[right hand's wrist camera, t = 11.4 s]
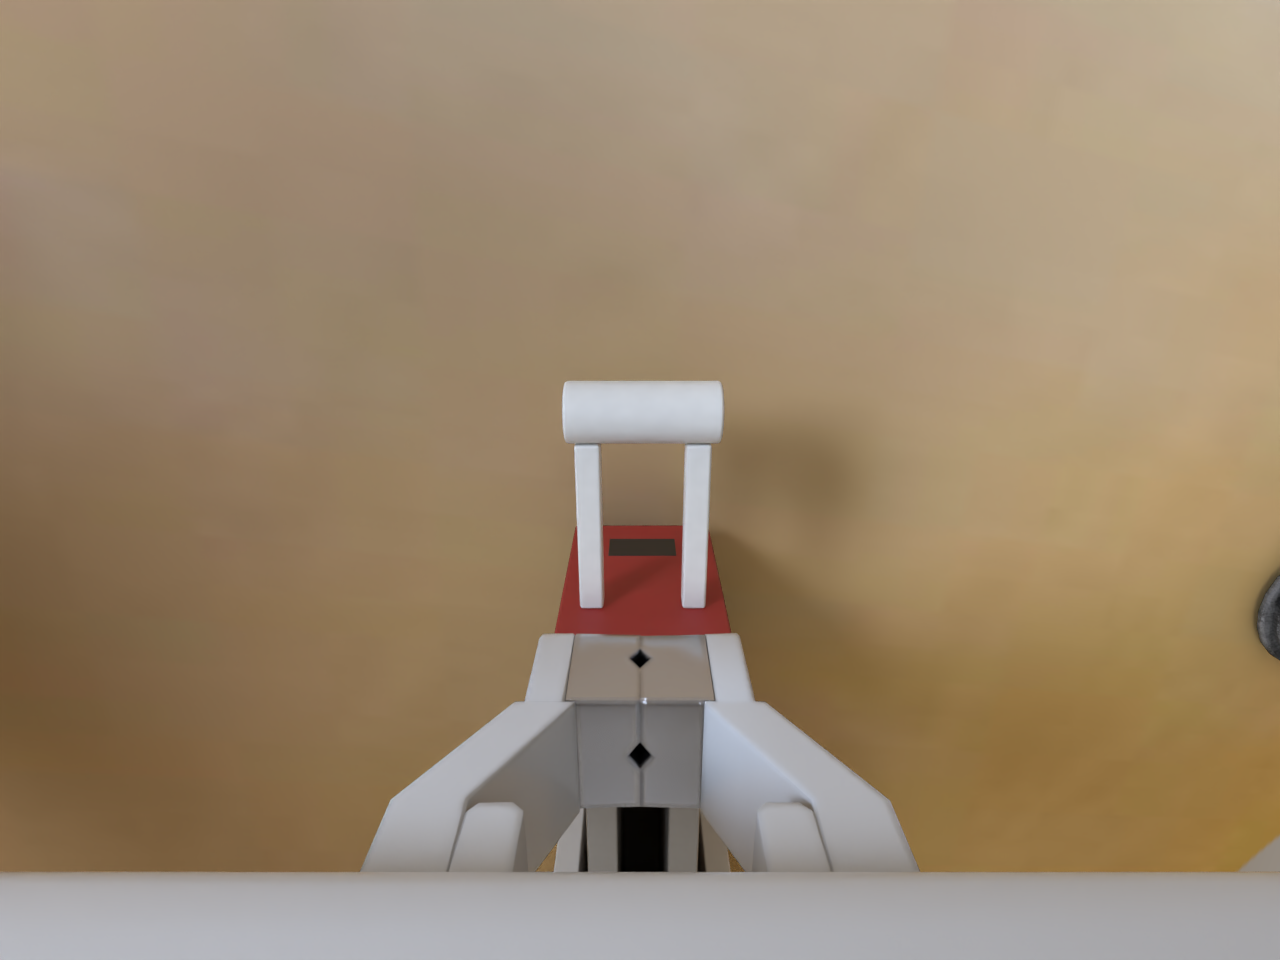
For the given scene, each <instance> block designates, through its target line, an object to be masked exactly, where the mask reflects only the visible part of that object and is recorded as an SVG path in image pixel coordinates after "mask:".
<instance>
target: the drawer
mask: <svg viewBox="0 0 1280 960" xmlns="http://www.w3.org/2000/svg"><path fill="white" fill-rule="evenodd" d="M562 423H563V434H564V439H565V441H566V443H575V447H574V455H575V483H576V510H577V526H576V528H575V533H574V538H573V543H572V548H571V553H570V558H569V563H568V568H567V573H566V578H565V583H564V588H563V593H562V598H561V603H560V608H559V613H558V618H557V623H556V628H555V633H573V634H575V635H576V634H620V635H640V636H659V635H705V634H722V633H731V629H730V624H729V620H728V615H727V611H726V606H725V601H724V597H723V592H722V588H721V583H720V578H719V574H718V569H717V565H716V560H715V555H714V551H713V546H712V542H711V537H710V532H709V508H710V483H711V458H712V447H711V443H720V442H721V439H722V436H723V429H724V392H723V386H722V383H721V382H720V381H567V382H565V384H564V387H563V397H562ZM601 443H685V458H684V498H683V526H603V509H602V463H601ZM699 819H700V808H670V807H609V808H586V828H587V854H588V872H697V867H698V843H699Z"/></svg>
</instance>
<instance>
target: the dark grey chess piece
mask: <svg viewBox="0 0 1280 960" xmlns="http://www.w3.org/2000/svg"><path fill="white" fill-rule="evenodd" d="M1257 630H1258V633H1259V637H1260V641H1261V643H1262V644H1263V646H1264V647H1265V648H1266V649H1267V651H1268V652H1269V653H1270V654H1271V655H1272V656H1274V657H1276V658H1277V659H1279V660H1280V575H1279V576H1278V577H1277V578H1276V580H1275V581H1274V583H1273V584H1272V585H1271V587H1270V588H1269V590H1268V591H1267V593H1266V594H1265V596H1264V599H1263V601H1262V604H1261V606H1260V609H1259V611H1258V622H1257Z"/></svg>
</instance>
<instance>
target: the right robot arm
mask: <svg viewBox="0 0 1280 960" xmlns="http://www.w3.org/2000/svg"><path fill="white" fill-rule="evenodd" d="M609 807H670V808H700V812H701V813H702V814H703V816H704V817H705V818H706V820H707V821H708V822H709V824H710V825H711V826H712V828H713V829H714V830H715V832H716V833H717V835H718V836H719V837H720V839H721V840H722V841H723V843H724V844H725V845H726V847H727V848H728V849H729V851H730V852H731V853H732V855H733V856H734V857H735V859H736V860H737V861H738V863H739V864H740V865H741V867H742V868H743V869H744V871H745V872H535V871H536V870H537V868H538V867H539V866H540V864H541V863H542V862H543V860H544V859H545V858H546V856H547V855H548V854H549V852H550V851H551V850H552V848H553V847H554V846H555V844H556V843H557V842H558V840H559V839H560V838H561V836H562V835H563V834H564V832H565V831H566V830H567V828H568V827H569V826H570V824H571V823H572V822H573V820H574V819H575V818H576V816H577V815H578V814H579V812H580V808H609ZM0 960H1280V872H920V870H919V868H918V866H917V863H916V861H915V858H914V856H913V854H912V851H911V849H910V847H909V844H908V842H907V839H906V837H905V835H904V832H903V830H902V828H901V825H900V823H899V821H898V818H897V816H896V813H895V811H894V809H893V806H892V804H891V802H890V800H889V799H887V798H886V797H885V796H884V795H882V794H881V793H880V792H879V791H877V790H876V789H875V788H874V787H872V786H871V785H870V784H869V783H867V782H866V781H865V780H863V779H862V778H861V777H860V776H858V775H857V774H856V773H855V772H853V771H852V770H851V769H850V768H848V767H847V766H846V765H845V764H843V763H842V762H841V761H839V760H838V759H837V758H836V757H834V756H833V755H832V754H831V753H829V752H828V751H827V750H826V749H824V748H823V747H822V746H821V745H819V744H818V743H817V742H815V741H814V740H813V739H812V738H810V737H809V736H808V735H807V734H805V733H804V732H803V731H802V730H800V729H799V728H798V727H797V726H795V725H794V724H793V723H791V722H790V721H789V720H788V719H786V718H785V717H784V716H783V715H781V714H780V713H779V712H778V711H776V710H775V709H774V708H773V707H771V706H770V705H769V704H767V703H766V702H756V701H755V698H754V693H753V689H752V685H751V681H750V677H749V672H748V668H747V664H746V660H745V656H744V652H743V647H742V643H741V639H740V636H739V635H738V634H737V633H722V634H705V635H659V636H640V635H620V634H576V635H575V634H573V633H552V634H542V636H541V637H540V638H539V642H538V647H537V651H536V655H535V659H534V664H533V668H532V672H531V676H530V681H529V685H528V689H527V693H526V697H525V702H514V703H513V704H511V705H510V706H509V707H507V708H506V709H505V710H504V711H502V712H501V713H500V714H499V715H497V716H496V717H495V718H494V719H492V720H491V721H490V722H488V723H487V724H486V725H485V726H483V727H482V728H481V729H480V730H478V731H477V732H476V733H474V734H473V735H472V736H471V737H469V738H468V739H467V740H466V741H464V742H463V743H462V744H461V745H459V746H458V747H457V748H455V749H454V750H453V751H452V752H450V753H449V754H448V755H447V756H445V757H444V758H443V759H441V760H440V761H439V762H438V763H436V764H435V765H434V766H433V767H431V768H430V769H429V770H428V771H426V772H425V773H424V774H422V775H421V776H420V777H419V778H417V779H416V780H415V781H414V782H412V783H411V784H410V785H408V786H407V787H406V788H405V789H403V790H402V791H401V792H400V793H398V794H397V795H396V796H395V797H393V798H392V799H391V800H390V802H389V805H388V807H387V809H386V812H385V814H384V816H383V819H382V821H381V823H380V826H379V828H378V830H377V833H376V835H375V837H374V840H373V842H372V844H371V847H370V849H369V851H368V854H367V856H366V858H365V861H364V863H363V865H362V868H361V870H360V872H0Z"/></svg>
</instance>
